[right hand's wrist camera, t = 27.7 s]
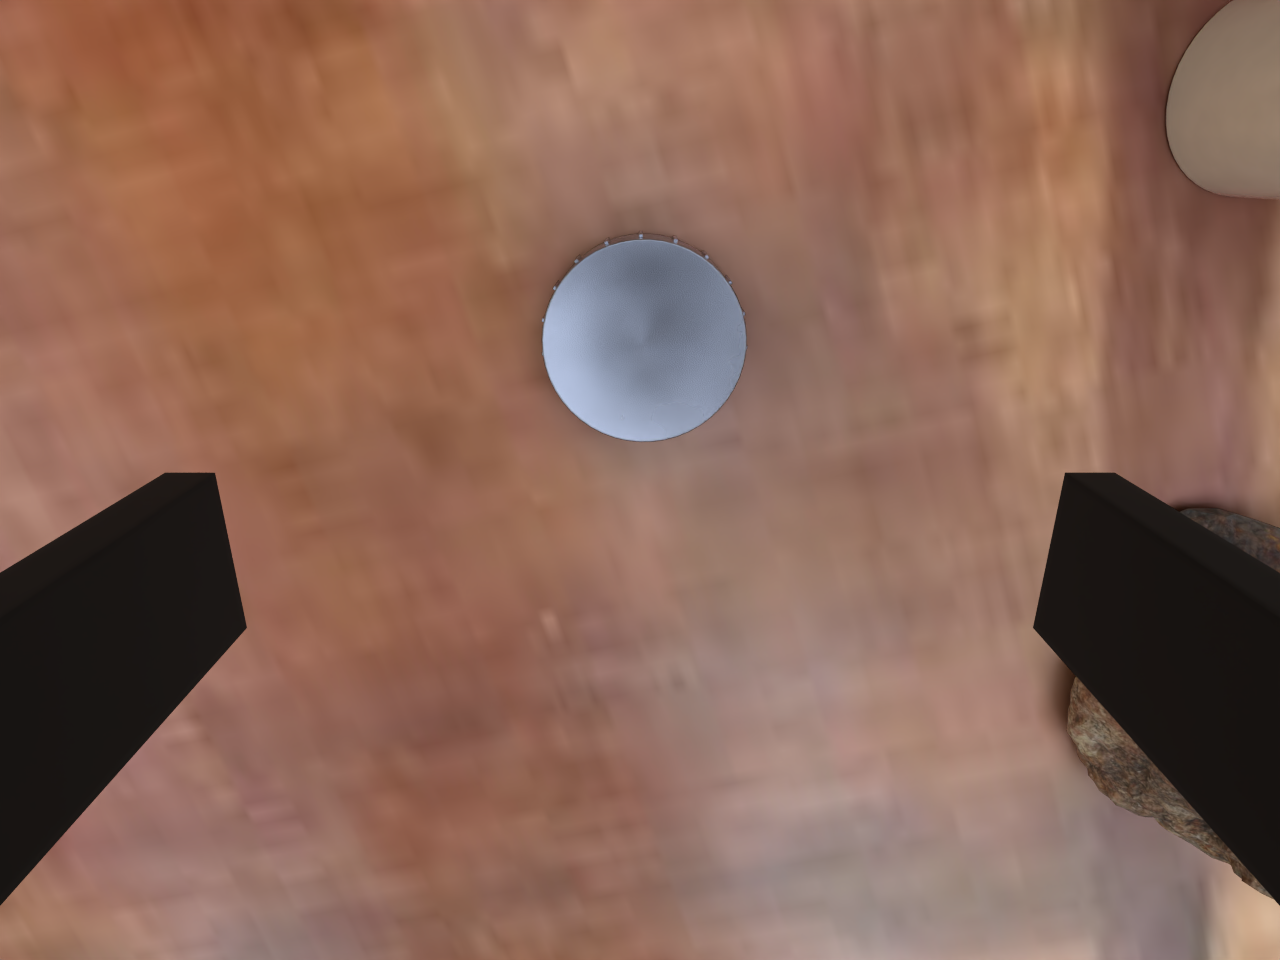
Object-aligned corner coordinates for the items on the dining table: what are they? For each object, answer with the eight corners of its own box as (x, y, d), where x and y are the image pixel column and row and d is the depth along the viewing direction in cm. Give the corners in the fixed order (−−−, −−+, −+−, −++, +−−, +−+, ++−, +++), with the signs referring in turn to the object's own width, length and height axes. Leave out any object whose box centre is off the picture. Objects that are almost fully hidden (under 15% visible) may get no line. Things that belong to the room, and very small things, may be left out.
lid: (752, 236, 23) (760, 241, 21) (732, 431, 25) (739, 449, 24) (546, 225, 23) (540, 230, 21) (546, 422, 25) (539, 439, 24)
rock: (1367, 487, 27) (1075, 501, 27) (1687, 599, 19) (1264, 617, 19) (1283, 830, 31) (1032, 840, 31) (1512, 1044, 23) (1170, 1055, 23)
